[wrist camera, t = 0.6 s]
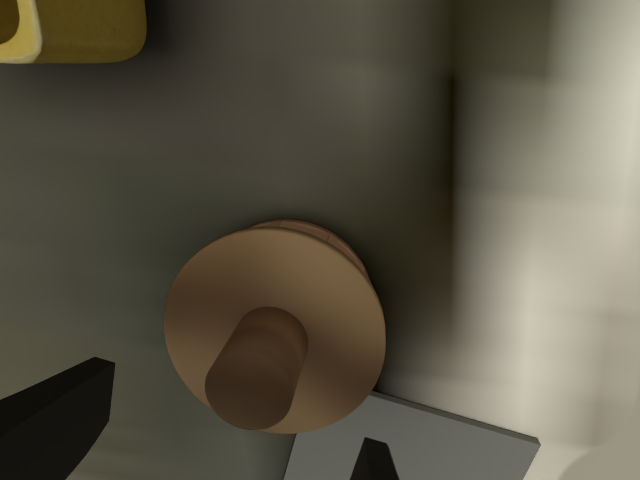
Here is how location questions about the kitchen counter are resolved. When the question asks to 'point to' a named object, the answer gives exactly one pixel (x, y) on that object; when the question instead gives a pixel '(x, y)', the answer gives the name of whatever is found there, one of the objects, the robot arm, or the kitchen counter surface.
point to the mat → (412, 445)
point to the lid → (275, 330)
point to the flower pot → (71, 31)
